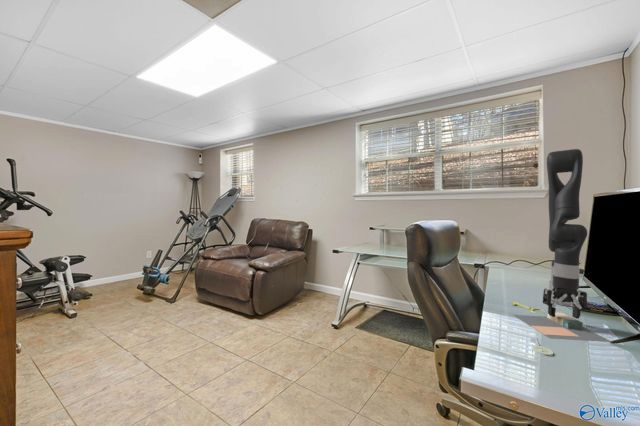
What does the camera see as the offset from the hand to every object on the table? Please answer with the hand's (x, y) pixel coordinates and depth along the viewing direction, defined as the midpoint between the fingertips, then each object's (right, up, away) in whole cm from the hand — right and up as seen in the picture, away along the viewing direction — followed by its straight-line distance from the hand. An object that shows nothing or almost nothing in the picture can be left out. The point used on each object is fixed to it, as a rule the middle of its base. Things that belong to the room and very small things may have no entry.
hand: (563, 317), depth 104 cm
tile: (0, -3, 0) cm, 2 cm away
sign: (-23, -4, -16) cm, 28 cm away
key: (-2, -3, +15) cm, 15 cm away
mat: (-6, -3, -3) cm, 7 cm away
